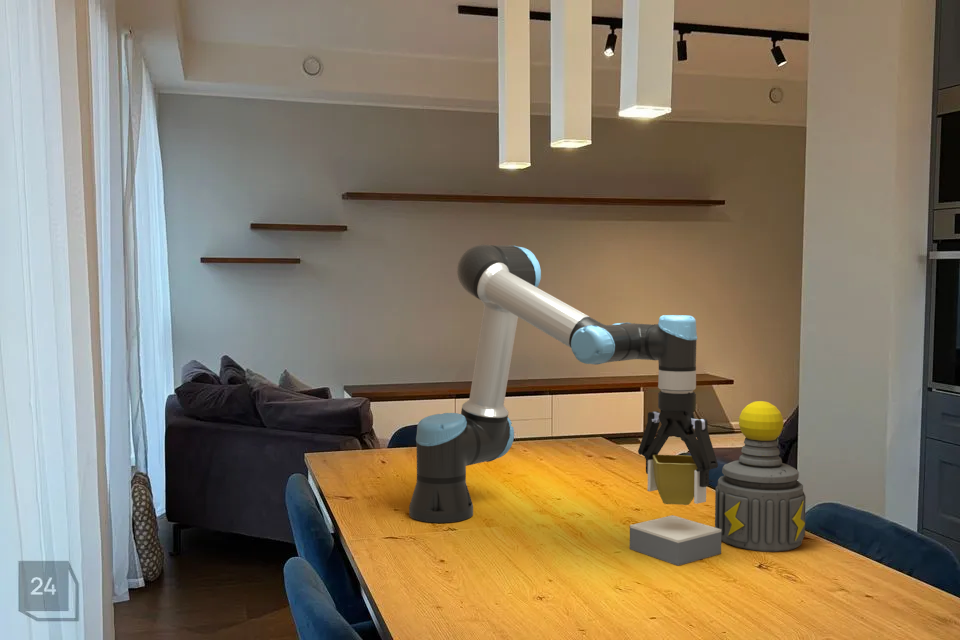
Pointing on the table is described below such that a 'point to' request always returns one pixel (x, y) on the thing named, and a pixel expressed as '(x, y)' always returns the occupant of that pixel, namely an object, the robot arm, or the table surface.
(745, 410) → the decorative lamp
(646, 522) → the plinth
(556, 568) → the table surface
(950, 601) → the table surface
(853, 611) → the table surface
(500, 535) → the table surface
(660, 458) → the flower pot
